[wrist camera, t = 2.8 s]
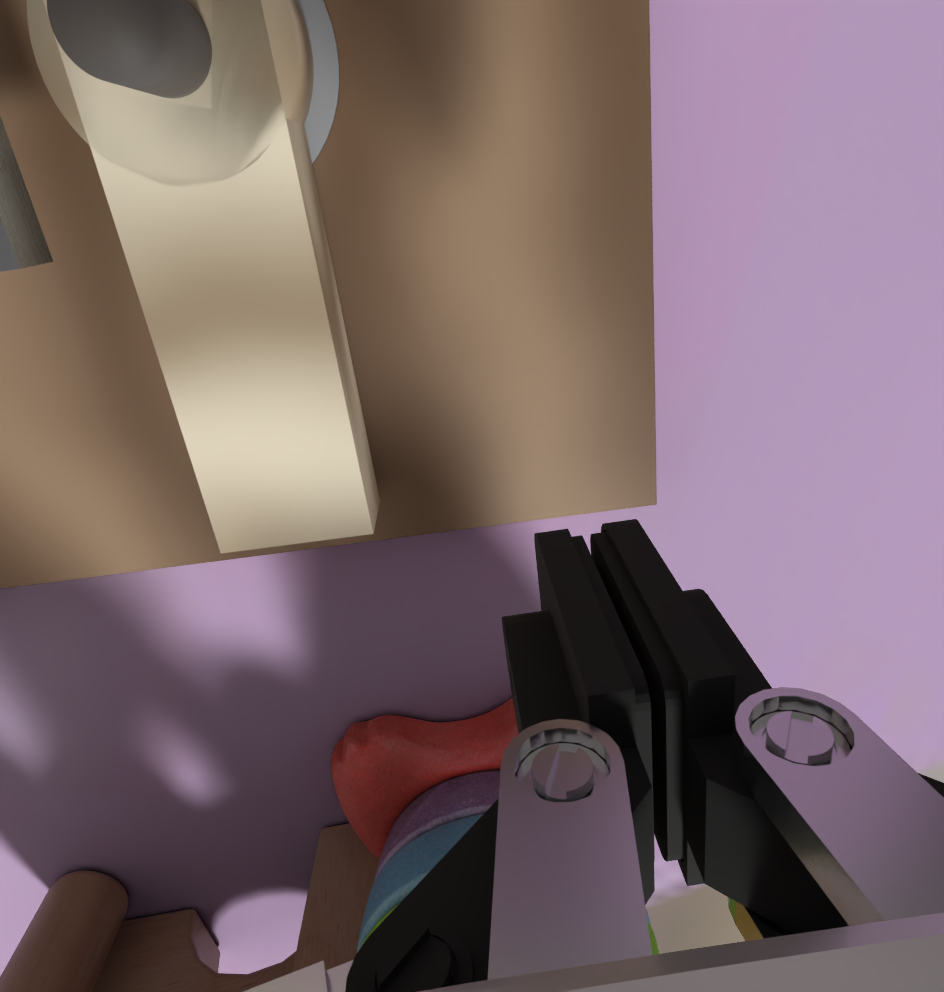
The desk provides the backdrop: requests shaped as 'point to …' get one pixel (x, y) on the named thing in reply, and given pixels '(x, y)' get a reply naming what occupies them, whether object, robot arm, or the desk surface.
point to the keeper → (17, 216)
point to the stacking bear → (418, 794)
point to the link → (224, 247)
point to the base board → (369, 288)
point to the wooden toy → (181, 933)
